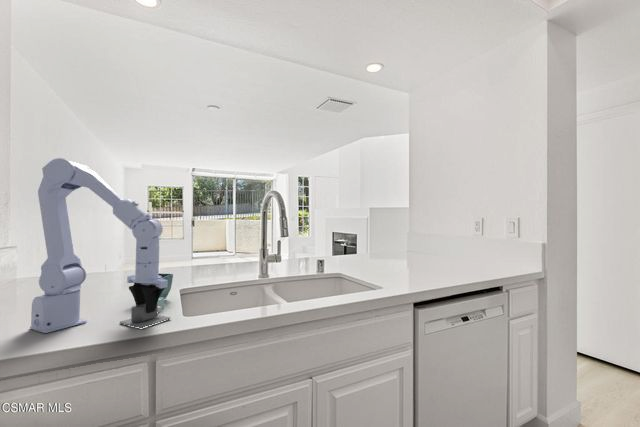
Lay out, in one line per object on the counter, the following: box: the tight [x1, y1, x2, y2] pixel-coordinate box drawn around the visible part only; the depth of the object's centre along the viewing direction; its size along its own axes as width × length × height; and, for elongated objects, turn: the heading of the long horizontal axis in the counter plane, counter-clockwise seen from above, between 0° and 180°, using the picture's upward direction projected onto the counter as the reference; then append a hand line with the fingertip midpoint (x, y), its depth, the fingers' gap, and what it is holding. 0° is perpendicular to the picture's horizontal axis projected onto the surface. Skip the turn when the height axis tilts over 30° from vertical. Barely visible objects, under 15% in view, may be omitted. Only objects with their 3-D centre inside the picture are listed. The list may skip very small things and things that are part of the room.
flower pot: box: [159, 272, 174, 300], centre depth 107 cm, size 9×9×9 cm
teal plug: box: [157, 297, 166, 310], centre depth 97 cm, size 8×3×4 cm, turn 4°
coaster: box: [119, 314, 171, 328], centre depth 86 cm, size 9×9×1 cm
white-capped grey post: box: [130, 304, 163, 322], centre depth 86 cm, size 8×3×4 cm, turn 154°
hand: (146, 311), depth 86 cm, fingers closed on white-capped grey post, 3 cm apart
